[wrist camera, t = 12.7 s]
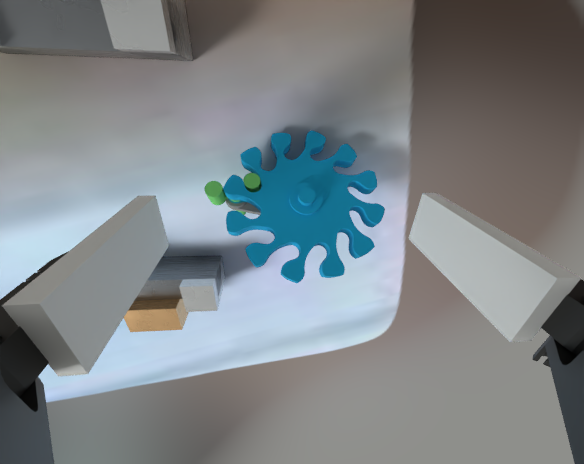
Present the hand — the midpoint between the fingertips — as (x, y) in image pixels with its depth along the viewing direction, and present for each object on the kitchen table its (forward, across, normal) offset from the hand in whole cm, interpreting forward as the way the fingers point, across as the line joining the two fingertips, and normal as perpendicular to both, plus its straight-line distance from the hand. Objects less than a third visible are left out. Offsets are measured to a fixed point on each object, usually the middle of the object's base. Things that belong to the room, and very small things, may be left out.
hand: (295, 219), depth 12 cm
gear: (+7, 0, 0) cm, 7 cm away
